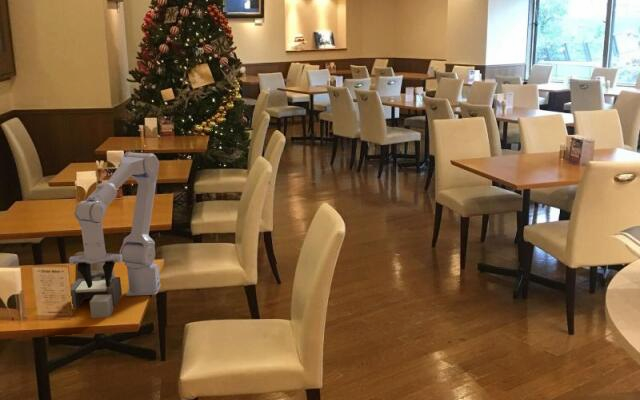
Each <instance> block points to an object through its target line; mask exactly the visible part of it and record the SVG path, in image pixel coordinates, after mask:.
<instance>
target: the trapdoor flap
mask: <svg viewBox="0 0 640 400" xmlns="http://www.w3.org/2000/svg"><path fill="white" fill-rule="evenodd" d="M111 277H116V275H115V270H114V269H113V271H112V275H111ZM91 278H94V280H95V281H92V286H91V288H88V286H87V284H86V281H82V282H81V283H80V285H79V286H78V287H77V289H76V290H75V291H76V292H96V291H107V288H108V287H106V281H105V280H101V278H105V274H104V270H93V271H91ZM111 282H112V280H111ZM111 282H110V284H111Z"/></svg>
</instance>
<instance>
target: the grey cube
mask: <svg viewBox="0 0 640 400" xmlns="http://www.w3.org/2000/svg"><path fill="white" fill-rule="evenodd" d="M89 307H90V315H91V318H93V319H95V318H110V317H111V315H112V313H113V311H114V307H113V302H112V294H109V295H94V297H93V298H90V300H89Z"/></svg>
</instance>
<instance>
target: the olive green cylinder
mask: <svg viewBox="0 0 640 400" xmlns="http://www.w3.org/2000/svg"><path fill="white" fill-rule="evenodd" d="M80 255H85V253H84V251H78V252H76V253H74V254H73V256H80ZM77 267H78V264H75V282H76V281H77V279H84V277H83V276H82V274H81V273H80V272H79V271H78V269H77ZM75 282H74V283H75Z"/></svg>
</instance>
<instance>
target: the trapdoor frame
mask: <svg viewBox="0 0 640 400" xmlns="http://www.w3.org/2000/svg"><path fill="white" fill-rule="evenodd" d="M101 280H105V278H101ZM111 280H112V282H111V284H110V286H109V287H108V288H107V291H96V292H76V291H75V290H76V289H77V287H78V286H79V285H80V283H81V282H82V281H85V279H77V281H76V282H74V283H73V285H72V286H70V288H71V296H72V304H73V308H74V309H73V310H76V309H78V308H79V306H80V305H81V304H82V302H83V300H84V299H92V298H93V297H94V295H109V294H112V302H113V308H115V307H116V306H117V304H118V303H119V300H120V299H121V298H122V296H123V291H122V290H123V289H122V283H121V282H122V281H121V276H115V277H111ZM92 281H95V280H94V278H92Z"/></svg>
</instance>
